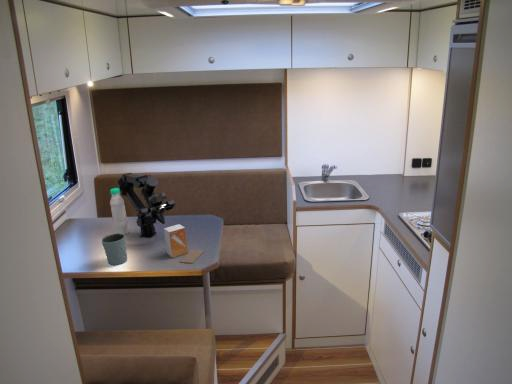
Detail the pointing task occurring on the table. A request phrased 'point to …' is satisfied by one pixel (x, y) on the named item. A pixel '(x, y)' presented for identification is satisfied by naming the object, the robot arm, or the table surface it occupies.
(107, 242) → the green cup
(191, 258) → the cork mat
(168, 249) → the small box
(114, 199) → the water bottle
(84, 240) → the table surface
